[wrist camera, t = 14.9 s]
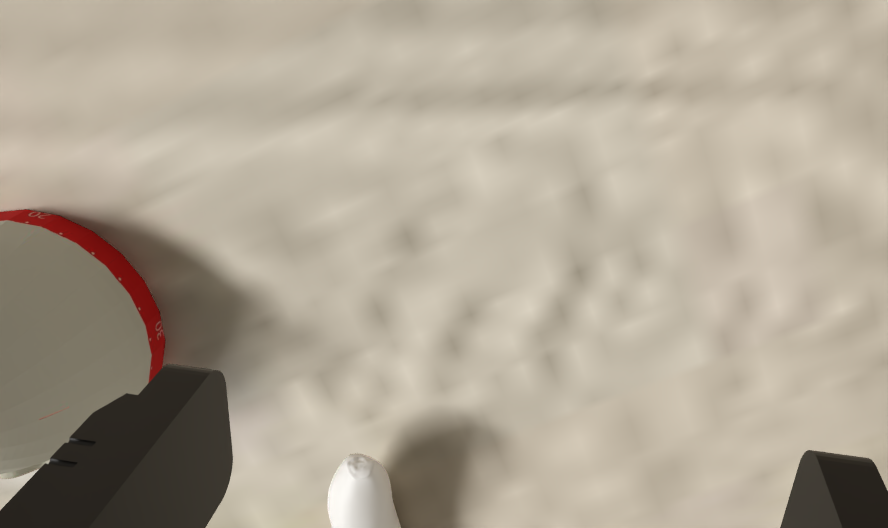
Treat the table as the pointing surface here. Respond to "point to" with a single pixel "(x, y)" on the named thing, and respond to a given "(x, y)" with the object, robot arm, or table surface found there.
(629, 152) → the table surface
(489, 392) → the table surface
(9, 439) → the kitchen timer
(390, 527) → the banana
